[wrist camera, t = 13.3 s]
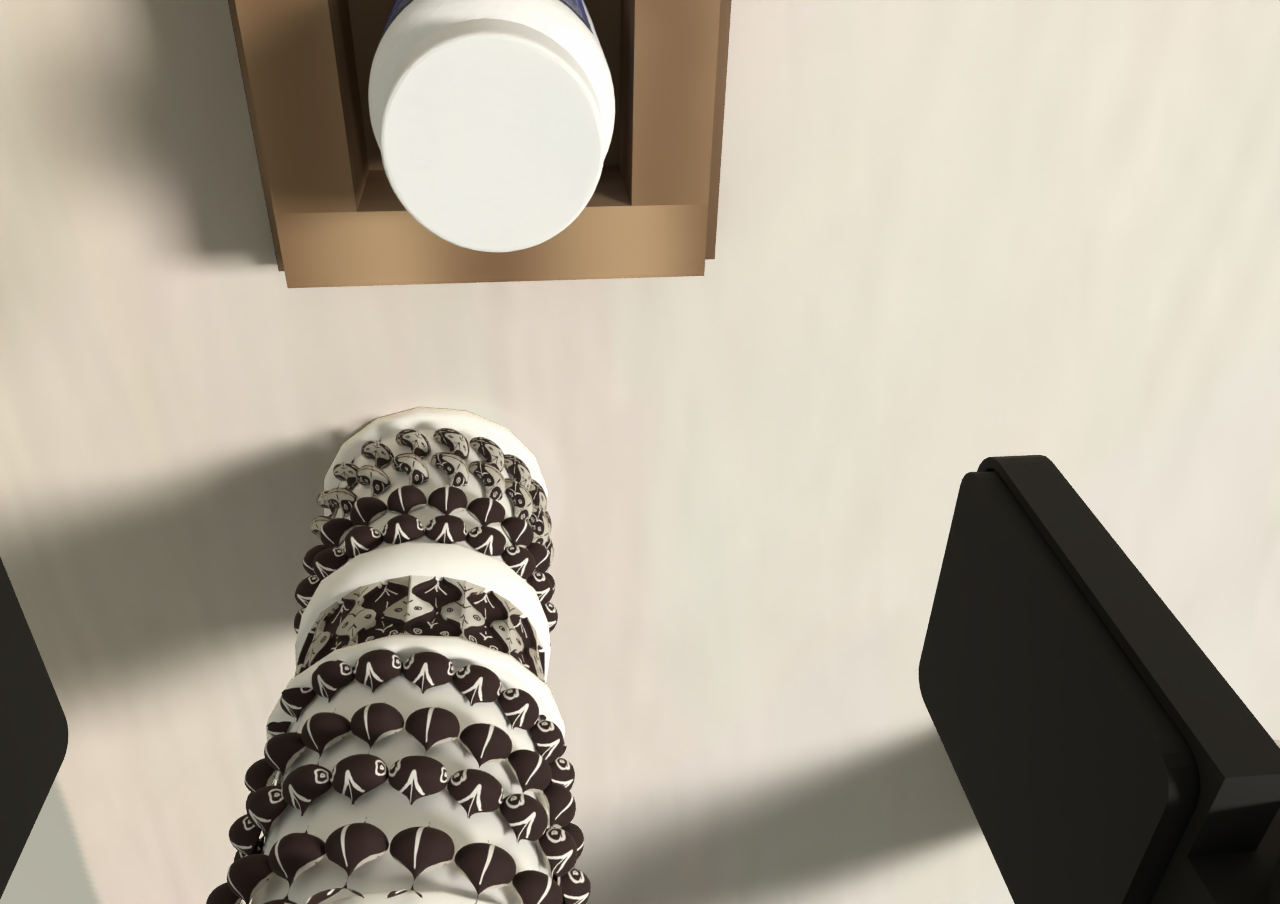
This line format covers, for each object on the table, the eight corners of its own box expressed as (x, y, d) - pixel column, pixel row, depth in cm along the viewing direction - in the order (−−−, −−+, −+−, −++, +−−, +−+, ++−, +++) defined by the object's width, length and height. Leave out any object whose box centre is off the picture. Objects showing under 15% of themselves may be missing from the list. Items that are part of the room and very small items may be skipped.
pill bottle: (348, 6, 29) (291, 105, 20) (519, -115, 28) (530, -63, 19) (471, 176, 32) (464, 321, 23) (629, 73, 31) (680, 188, 22)
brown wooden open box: (740, -253, 27) (778, -255, 23) (709, 247, 35) (734, 304, 31) (187, -268, 26) (135, -272, 22) (284, 258, 33) (257, 321, 30)
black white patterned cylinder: (337, 369, 36) (128, 1191, 15) (589, 431, 39) (698, 1203, 18) (290, 565, 40) (79, 1404, 20) (519, 608, 43) (542, 1389, 22)
